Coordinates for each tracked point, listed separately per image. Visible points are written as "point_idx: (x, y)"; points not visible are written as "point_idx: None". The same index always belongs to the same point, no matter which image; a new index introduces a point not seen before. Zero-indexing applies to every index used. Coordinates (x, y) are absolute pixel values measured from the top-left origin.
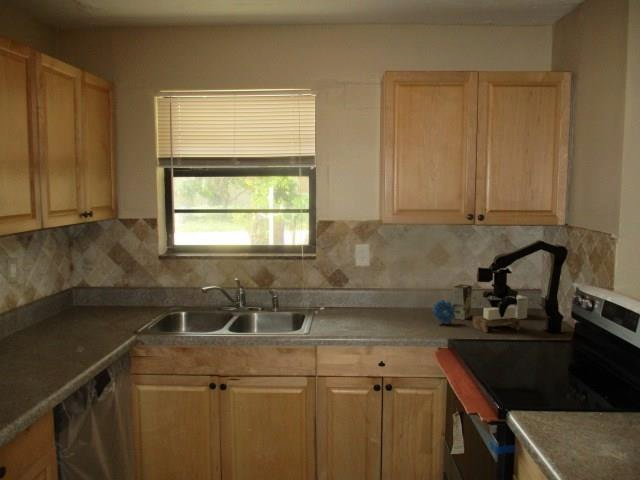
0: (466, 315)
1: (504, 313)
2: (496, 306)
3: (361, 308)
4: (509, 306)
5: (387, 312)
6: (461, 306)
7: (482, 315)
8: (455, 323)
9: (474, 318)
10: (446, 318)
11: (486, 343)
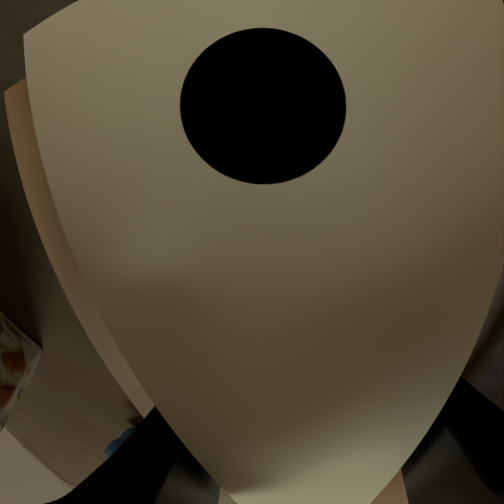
0: (6, 339)
1: None
2: (195, 486)
3: (46, 463)
4: (47, 76)
5: (54, 455)
6: (4, 413)
7: (128, 390)
8: (124, 408)
9: None
10: None
11: (480, 386)
